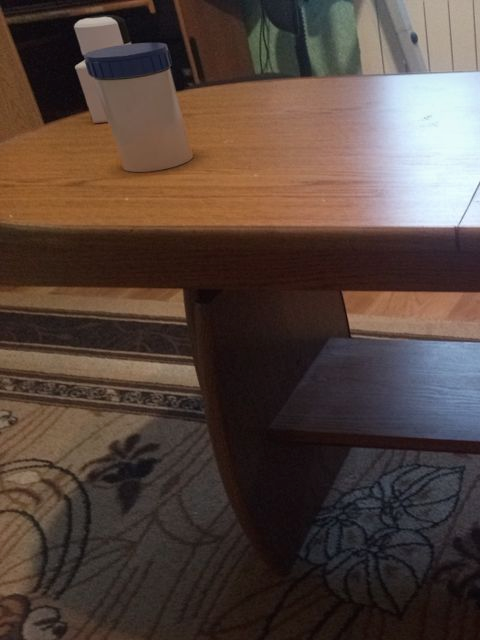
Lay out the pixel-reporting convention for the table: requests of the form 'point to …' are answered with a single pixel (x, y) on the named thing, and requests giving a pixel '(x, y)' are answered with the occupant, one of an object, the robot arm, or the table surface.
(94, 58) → the jar lid
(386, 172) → the table surface
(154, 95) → the jar
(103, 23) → the medicine bottle
